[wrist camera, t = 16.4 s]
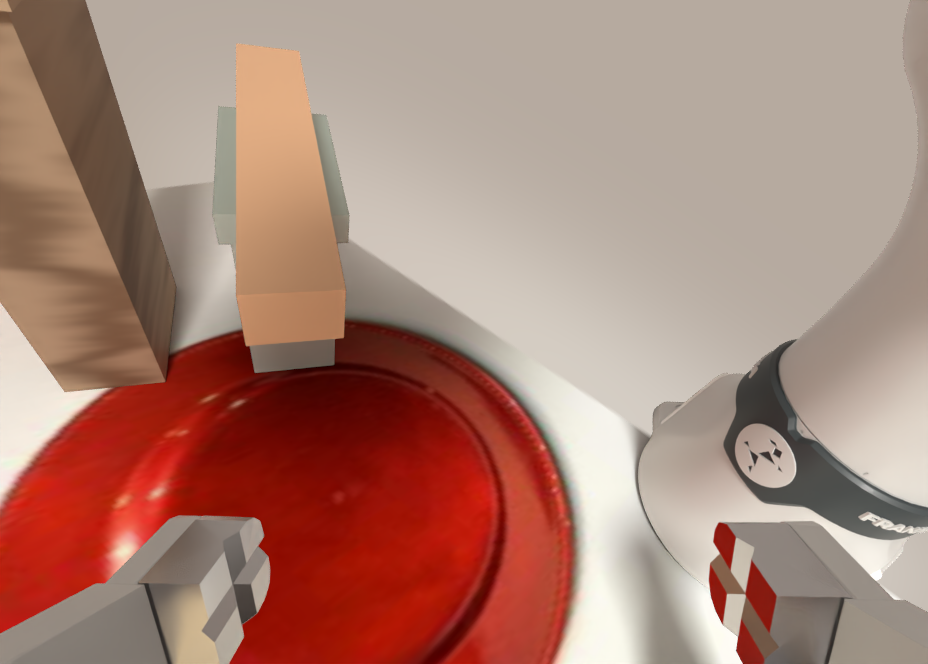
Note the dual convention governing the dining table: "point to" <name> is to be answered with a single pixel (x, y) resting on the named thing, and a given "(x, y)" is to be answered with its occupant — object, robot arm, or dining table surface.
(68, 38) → the tall stand
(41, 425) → the dining table surface
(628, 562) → the dining table surface
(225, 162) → the low stand
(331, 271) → the bar
